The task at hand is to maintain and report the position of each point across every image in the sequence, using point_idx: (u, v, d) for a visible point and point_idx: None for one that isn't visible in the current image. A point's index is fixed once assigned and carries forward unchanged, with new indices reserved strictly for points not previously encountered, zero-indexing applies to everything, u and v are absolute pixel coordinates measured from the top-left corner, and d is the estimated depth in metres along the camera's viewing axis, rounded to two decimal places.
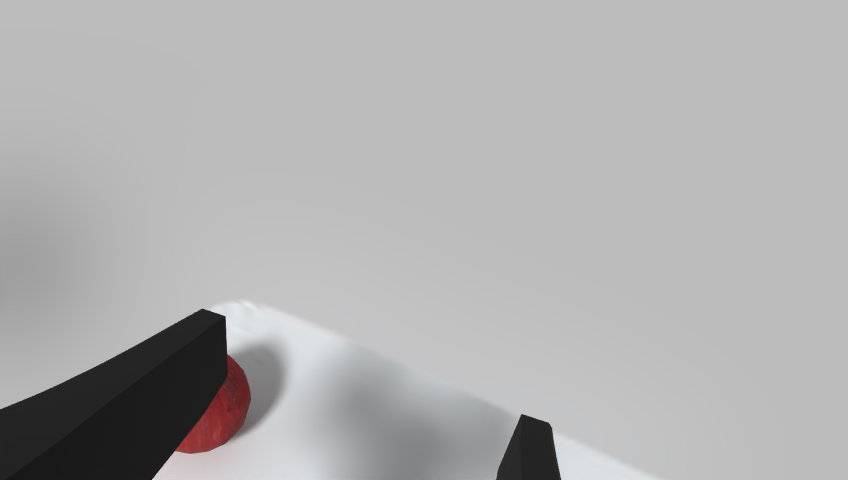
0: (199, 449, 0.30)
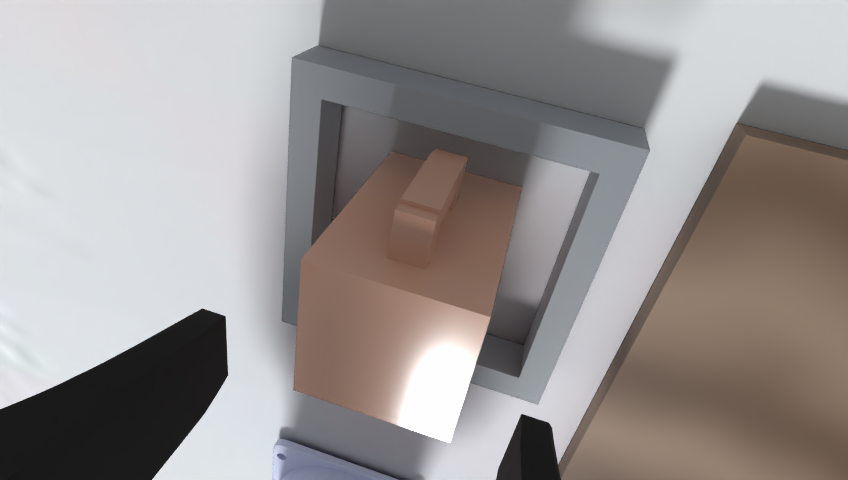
0: None
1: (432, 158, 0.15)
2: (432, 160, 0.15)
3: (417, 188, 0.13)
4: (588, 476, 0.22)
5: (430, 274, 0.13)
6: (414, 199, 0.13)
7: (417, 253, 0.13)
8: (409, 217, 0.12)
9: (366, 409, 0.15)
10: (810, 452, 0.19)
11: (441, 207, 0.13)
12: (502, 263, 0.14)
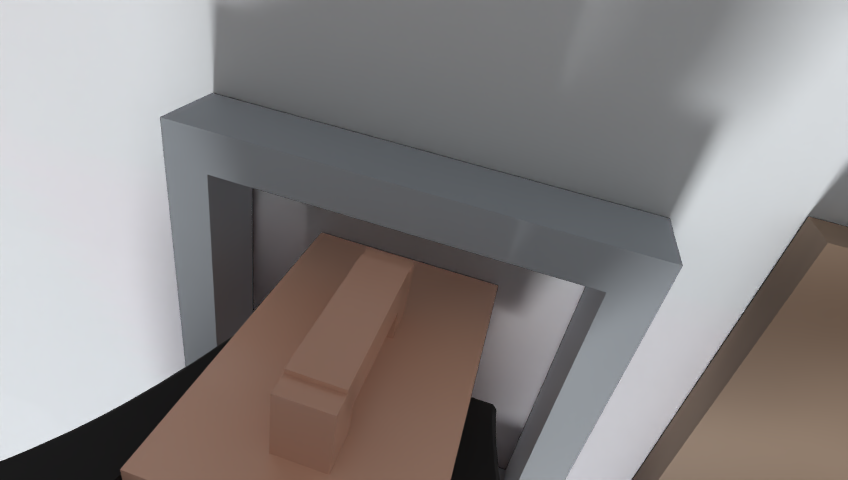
0: None
1: (357, 271, 0.10)
2: (356, 276, 0.10)
3: (318, 341, 0.08)
4: None
5: None
6: (307, 368, 0.08)
7: (314, 453, 0.08)
8: (295, 404, 0.08)
9: None
10: None
11: (350, 382, 0.08)
12: (456, 446, 0.09)
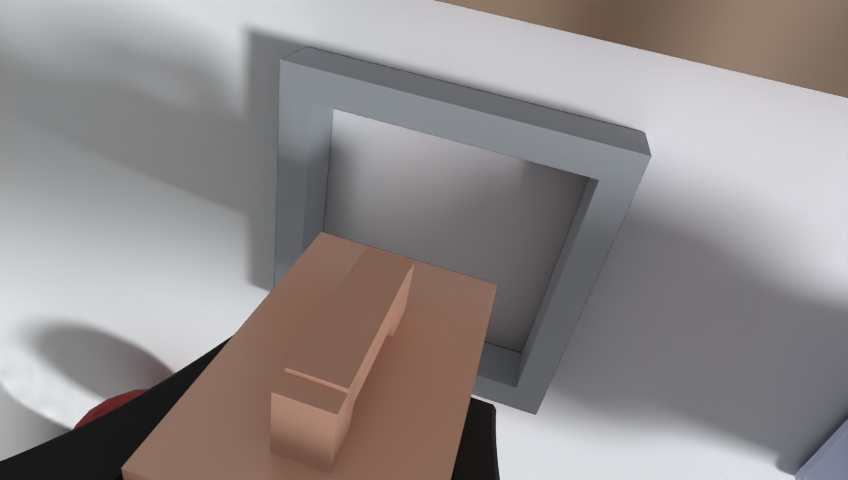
0: None
1: (357, 270, 0.10)
2: (356, 275, 0.10)
3: (319, 339, 0.08)
4: None
5: None
6: (308, 367, 0.08)
7: (315, 451, 0.08)
8: (296, 403, 0.08)
9: None
10: None
11: (351, 381, 0.08)
12: (457, 445, 0.09)
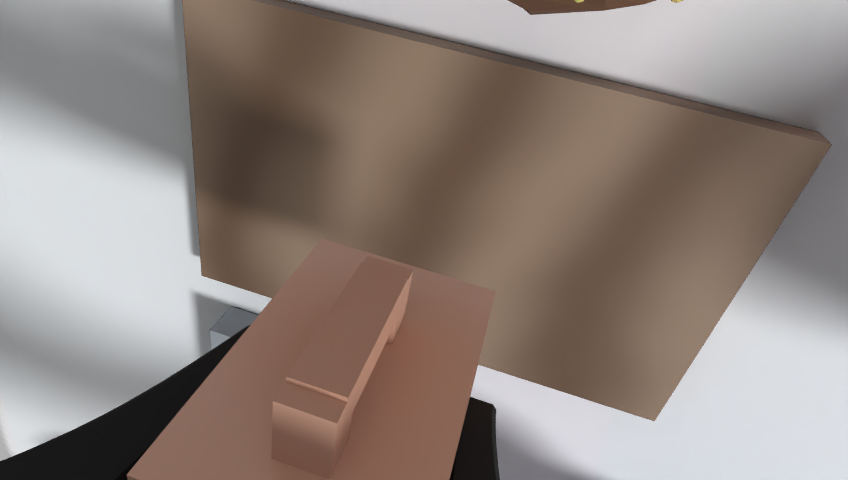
0: None
1: (357, 279, 0.10)
2: (356, 284, 0.10)
3: (319, 349, 0.09)
4: (541, 366, 0.21)
5: None
6: (309, 376, 0.08)
7: (315, 459, 0.08)
8: (296, 412, 0.08)
9: None
10: (451, 198, 0.19)
11: (350, 390, 0.08)
12: (454, 451, 0.09)
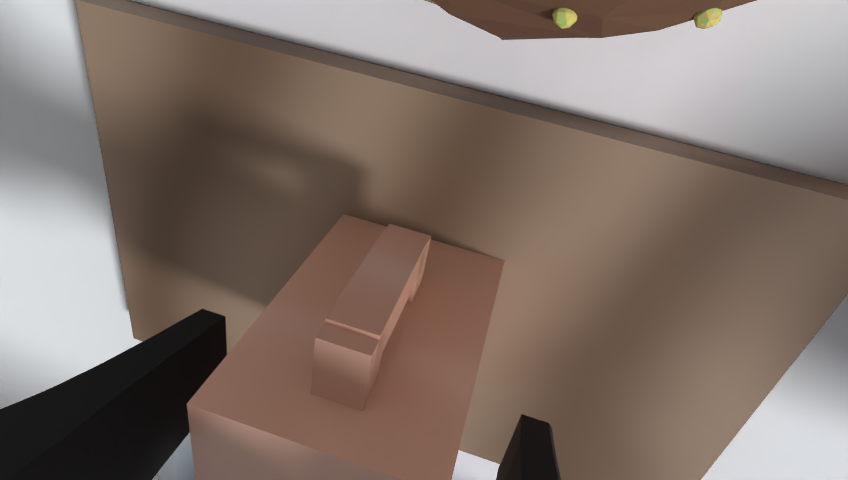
0: None
1: (381, 242, 0.11)
2: (381, 246, 0.11)
3: (352, 297, 0.10)
4: None
5: (368, 419, 0.09)
6: (345, 318, 0.09)
7: (350, 391, 0.09)
8: (335, 347, 0.09)
9: None
10: None
11: (382, 330, 0.09)
12: (471, 391, 0.10)
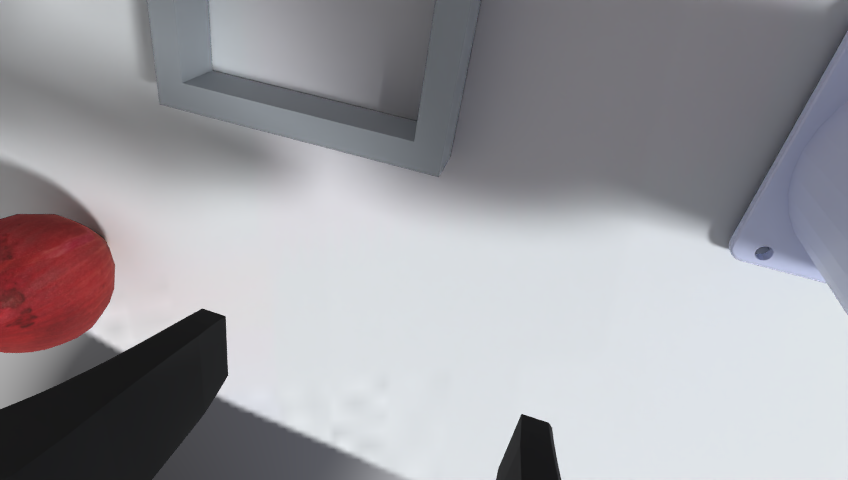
0: (92, 256, 0.23)
1: None
2: None
3: None
4: None
5: None
6: None
7: None
8: None
9: None
10: None
11: None
12: None
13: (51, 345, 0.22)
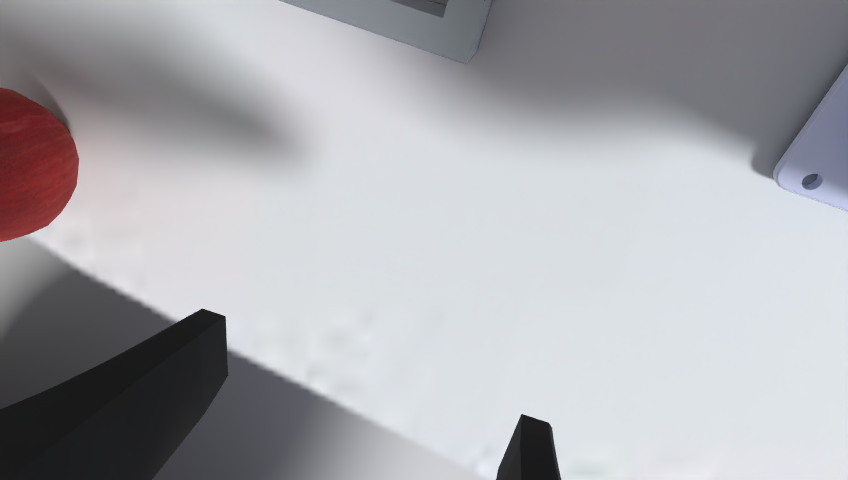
0: (54, 140, 0.20)
1: None
2: None
3: None
4: None
5: None
6: None
7: None
8: None
9: None
10: None
11: None
12: None
13: None
